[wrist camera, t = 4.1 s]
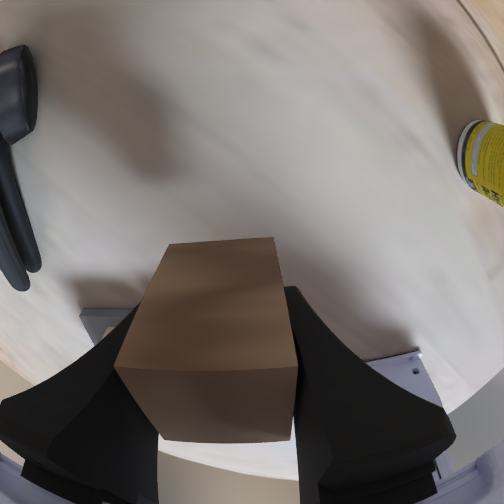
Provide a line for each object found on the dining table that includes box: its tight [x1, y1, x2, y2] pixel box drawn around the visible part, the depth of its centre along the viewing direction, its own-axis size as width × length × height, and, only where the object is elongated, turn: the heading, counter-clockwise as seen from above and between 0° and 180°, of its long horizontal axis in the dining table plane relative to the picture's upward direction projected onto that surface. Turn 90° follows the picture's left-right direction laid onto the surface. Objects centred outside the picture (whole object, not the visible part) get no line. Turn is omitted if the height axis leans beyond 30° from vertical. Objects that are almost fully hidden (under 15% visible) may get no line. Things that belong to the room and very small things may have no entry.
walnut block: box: [114, 237, 298, 443], centre depth 9 cm, size 4×4×6 cm
